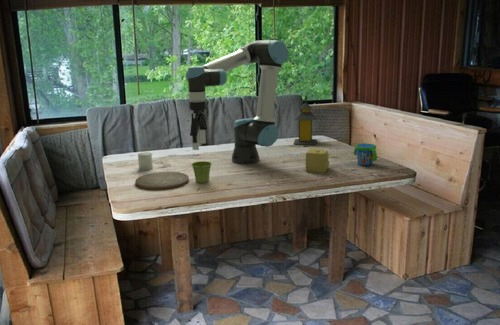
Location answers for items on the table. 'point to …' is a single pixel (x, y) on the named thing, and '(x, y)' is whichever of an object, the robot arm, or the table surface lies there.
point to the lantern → (305, 125)
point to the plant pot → (201, 171)
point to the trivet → (162, 180)
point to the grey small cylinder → (145, 161)
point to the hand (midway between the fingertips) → (199, 146)
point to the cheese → (317, 160)
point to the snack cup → (365, 153)
